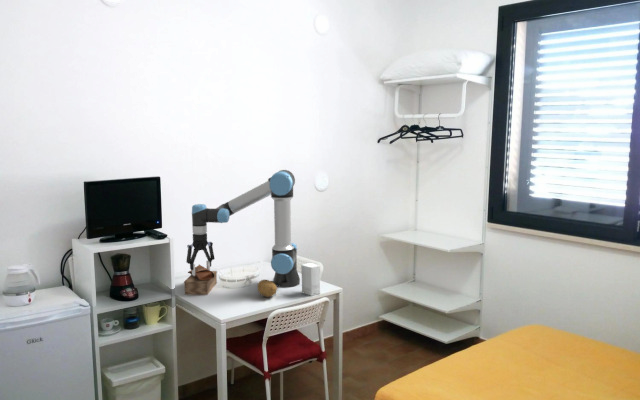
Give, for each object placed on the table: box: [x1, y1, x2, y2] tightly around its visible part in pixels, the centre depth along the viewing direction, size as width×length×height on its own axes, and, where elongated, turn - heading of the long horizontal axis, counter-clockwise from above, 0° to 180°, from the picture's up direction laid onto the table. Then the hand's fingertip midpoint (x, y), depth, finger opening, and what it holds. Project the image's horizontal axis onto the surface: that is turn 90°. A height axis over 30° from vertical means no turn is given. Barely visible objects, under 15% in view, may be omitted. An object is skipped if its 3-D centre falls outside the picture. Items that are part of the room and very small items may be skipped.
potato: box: [257, 279, 278, 298], centre depth 261 cm, size 10×14×8 cm
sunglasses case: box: [187, 264, 214, 280], centre depth 272 cm, size 18×7×7 cm, turn 37°
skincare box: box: [300, 262, 321, 297], centre depth 265 cm, size 8×7×16 cm
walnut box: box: [183, 270, 218, 296], centre depth 272 cm, size 12×20×7 cm, turn 178°
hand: (201, 274), depth 271 cm, fingers closed on sunglasses case, 8 cm apart
